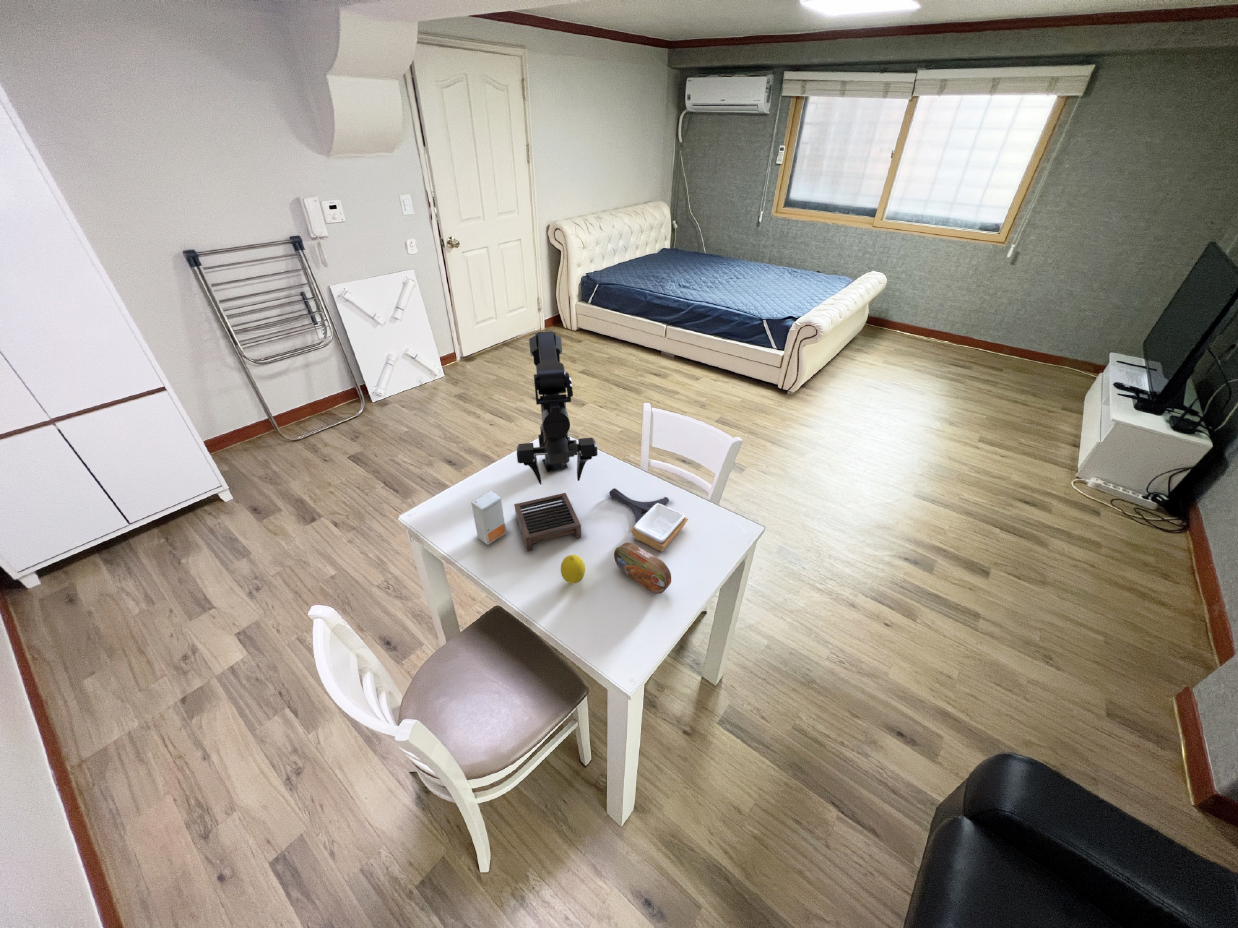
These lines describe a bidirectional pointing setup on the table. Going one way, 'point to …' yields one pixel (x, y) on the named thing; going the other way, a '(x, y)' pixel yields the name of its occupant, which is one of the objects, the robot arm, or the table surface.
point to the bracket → (636, 503)
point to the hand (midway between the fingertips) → (559, 481)
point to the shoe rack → (546, 519)
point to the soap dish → (659, 526)
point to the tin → (643, 567)
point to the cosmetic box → (489, 517)
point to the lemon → (572, 569)
